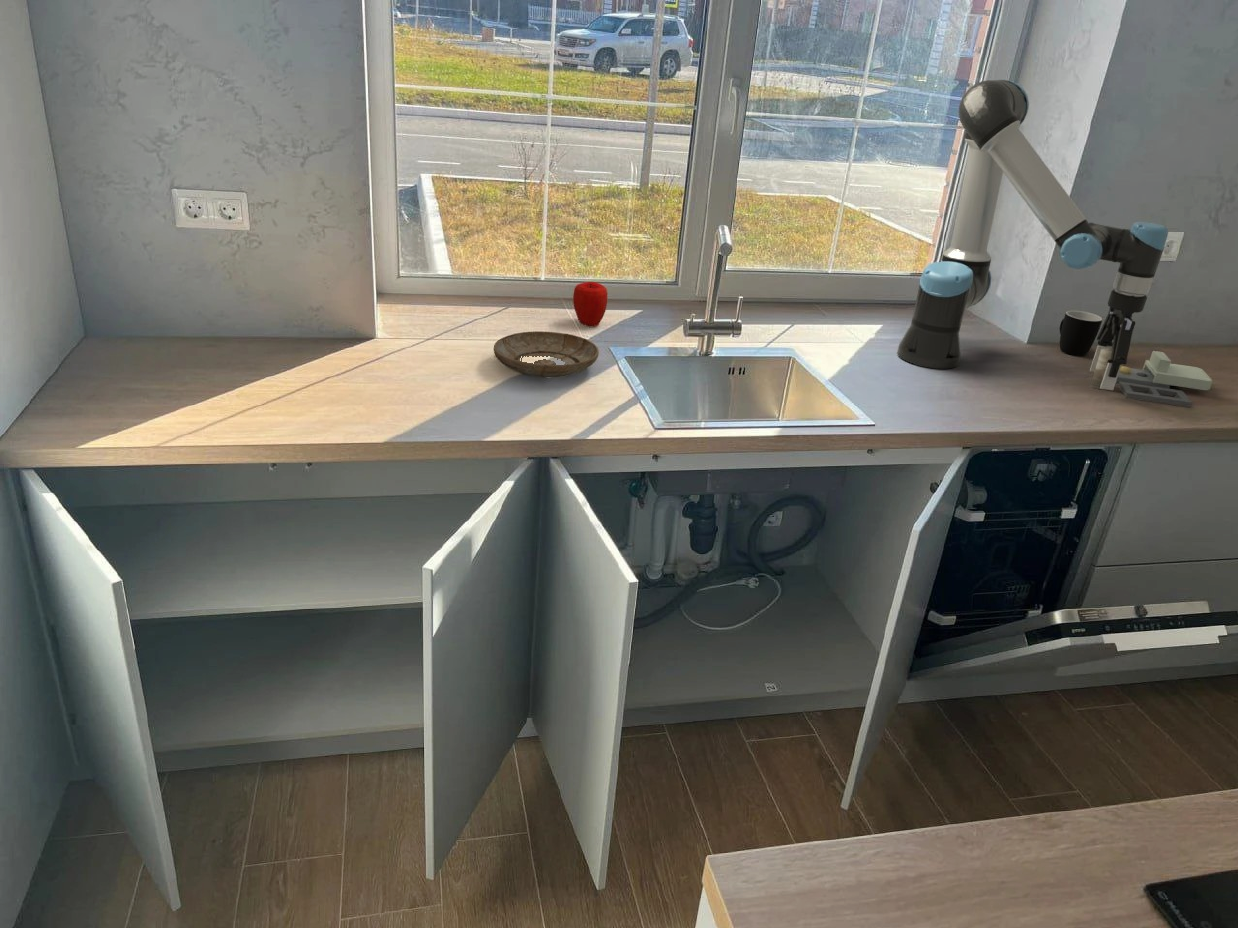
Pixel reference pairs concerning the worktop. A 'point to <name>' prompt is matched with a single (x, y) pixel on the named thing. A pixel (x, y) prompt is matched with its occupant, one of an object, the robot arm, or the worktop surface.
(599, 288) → the apple
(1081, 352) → the mug
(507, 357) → the brown round shallow bowl
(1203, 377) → the cover
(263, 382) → the worktop surface
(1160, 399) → the socket board
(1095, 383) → the pin
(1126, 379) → the board
